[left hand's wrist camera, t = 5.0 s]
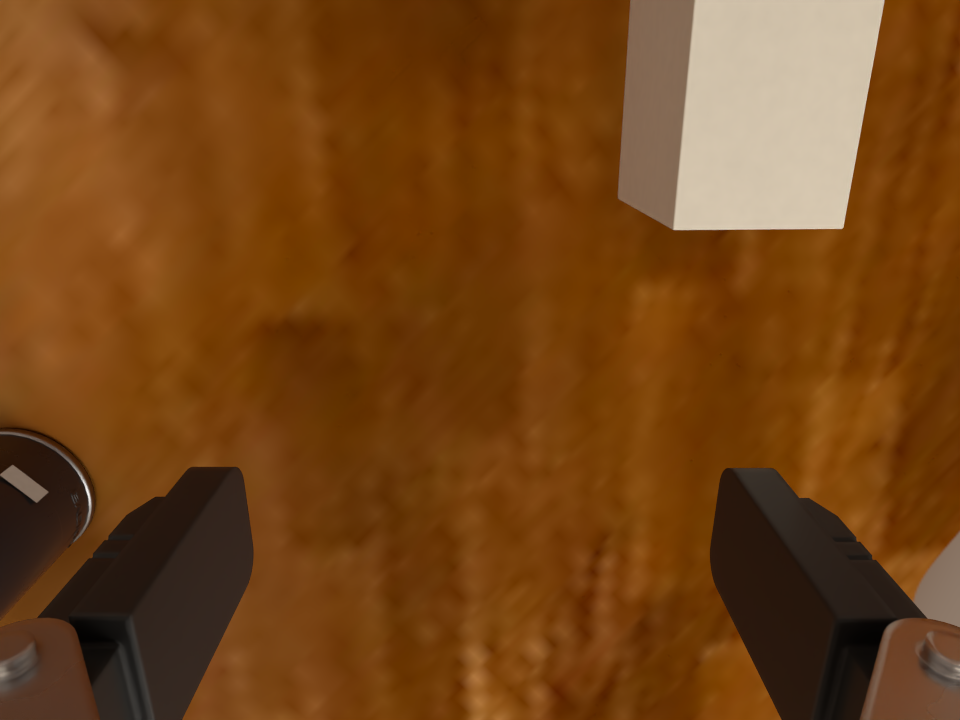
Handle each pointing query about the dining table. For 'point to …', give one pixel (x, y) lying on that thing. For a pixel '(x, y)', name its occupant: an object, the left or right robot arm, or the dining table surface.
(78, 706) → the left robot arm
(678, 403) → the dining table surface
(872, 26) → the bar
